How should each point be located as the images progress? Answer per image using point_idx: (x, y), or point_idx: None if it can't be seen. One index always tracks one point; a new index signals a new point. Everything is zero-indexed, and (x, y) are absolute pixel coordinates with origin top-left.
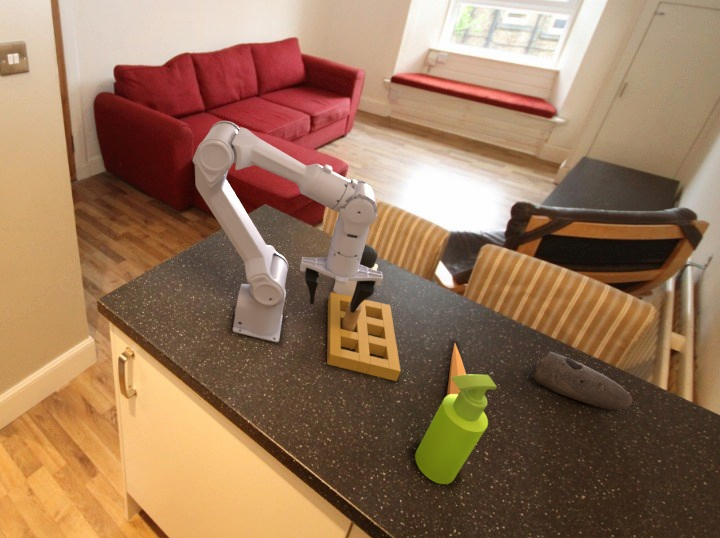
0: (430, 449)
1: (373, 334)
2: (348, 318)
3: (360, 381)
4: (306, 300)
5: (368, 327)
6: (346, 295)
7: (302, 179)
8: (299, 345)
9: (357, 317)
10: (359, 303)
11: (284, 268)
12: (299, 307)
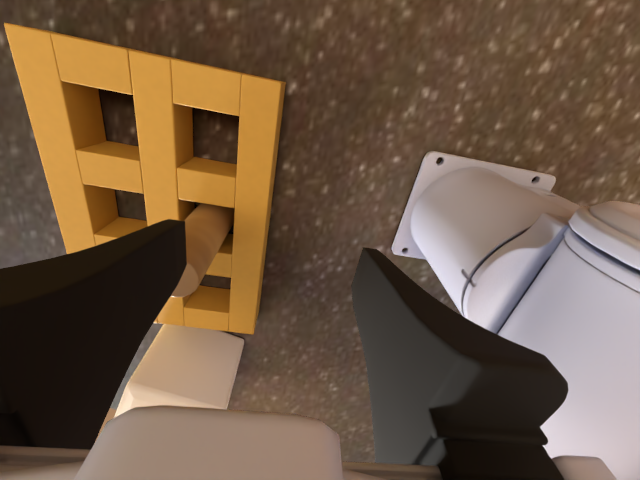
0: None
1: (138, 220)
2: (204, 233)
3: (176, 14)
4: (314, 306)
5: None
6: (210, 331)
7: None
8: (361, 151)
9: None
10: (106, 245)
11: (563, 425)
12: (336, 283)
